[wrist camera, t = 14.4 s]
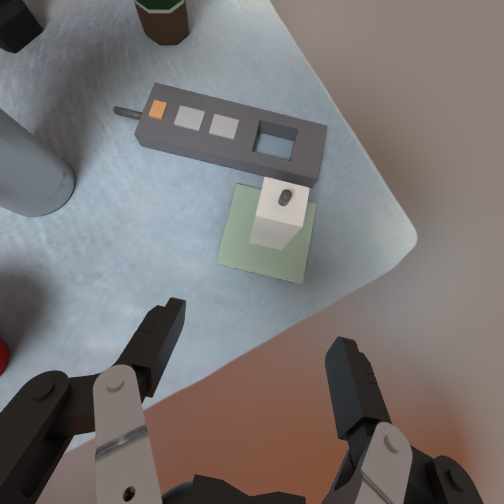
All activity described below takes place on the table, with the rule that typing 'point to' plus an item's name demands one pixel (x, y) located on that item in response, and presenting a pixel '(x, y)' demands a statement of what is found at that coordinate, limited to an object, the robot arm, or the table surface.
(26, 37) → the portable radio
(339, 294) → the table surface
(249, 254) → the mat
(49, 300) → the table surface
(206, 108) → the power strip
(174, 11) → the beer bottle
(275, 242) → the block
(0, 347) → the plastic cup
